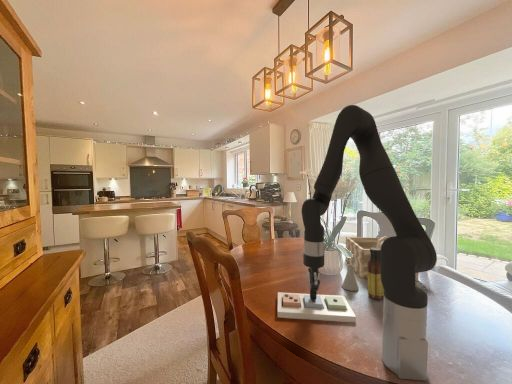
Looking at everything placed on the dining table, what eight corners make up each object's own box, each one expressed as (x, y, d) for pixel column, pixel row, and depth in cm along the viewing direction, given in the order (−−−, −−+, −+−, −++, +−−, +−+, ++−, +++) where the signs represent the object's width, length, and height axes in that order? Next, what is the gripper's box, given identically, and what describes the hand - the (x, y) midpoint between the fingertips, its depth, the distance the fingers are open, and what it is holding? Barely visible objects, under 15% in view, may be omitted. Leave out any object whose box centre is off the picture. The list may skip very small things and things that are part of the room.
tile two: (322, 312, 80) (322, 303, 80) (305, 311, 81) (305, 302, 81) (319, 303, 86) (319, 295, 86) (303, 302, 87) (303, 294, 87)
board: (355, 322, 75) (355, 316, 75) (277, 317, 78) (277, 311, 78) (343, 300, 89) (343, 295, 89) (277, 297, 92) (277, 292, 92)
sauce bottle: (384, 295, 94) (386, 248, 93) (384, 302, 88) (386, 252, 88) (367, 291, 97) (368, 245, 96) (366, 297, 92) (367, 249, 91)
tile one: (346, 313, 80) (346, 304, 79) (328, 312, 80) (328, 303, 80) (341, 304, 85) (341, 296, 85) (325, 303, 86) (325, 295, 86)
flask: (360, 292, 96) (361, 269, 96) (342, 290, 98) (343, 268, 97) (356, 285, 103) (357, 263, 103) (340, 283, 105) (340, 262, 104)
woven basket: (418, 280, 109) (419, 251, 108) (361, 277, 111) (361, 249, 111) (391, 261, 135) (391, 238, 134) (345, 259, 138) (346, 236, 137)
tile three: (299, 311, 81) (300, 302, 81) (283, 309, 82) (283, 301, 82) (298, 302, 87) (298, 293, 87) (282, 301, 88) (282, 293, 88)
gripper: (328, 258, 76) (327, 309, 77) (321, 247, 89) (320, 290, 90) (305, 257, 77) (304, 307, 77) (301, 246, 90) (301, 289, 91)
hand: (313, 298), depth 84 cm, fingers closed
